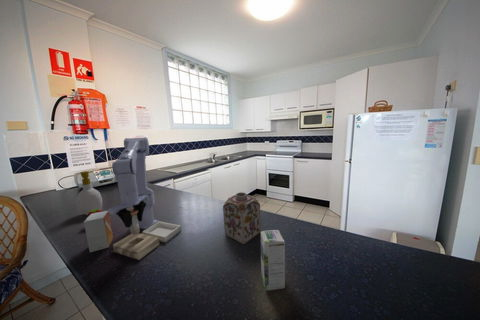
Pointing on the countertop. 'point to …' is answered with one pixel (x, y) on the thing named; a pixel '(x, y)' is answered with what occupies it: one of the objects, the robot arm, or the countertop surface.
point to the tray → (163, 231)
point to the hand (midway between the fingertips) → (133, 223)
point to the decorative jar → (242, 217)
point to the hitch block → (136, 245)
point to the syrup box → (273, 259)
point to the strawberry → (94, 211)
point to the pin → (134, 221)
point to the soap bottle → (88, 195)
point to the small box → (98, 231)
